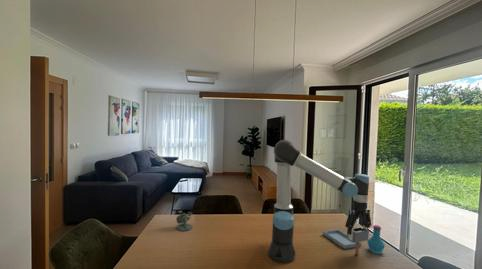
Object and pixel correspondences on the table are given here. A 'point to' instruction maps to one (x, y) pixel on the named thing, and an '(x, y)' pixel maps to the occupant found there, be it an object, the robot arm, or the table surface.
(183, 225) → the figurine
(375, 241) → the perfume bottle
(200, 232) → the table surface
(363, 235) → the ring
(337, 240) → the tray
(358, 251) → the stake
